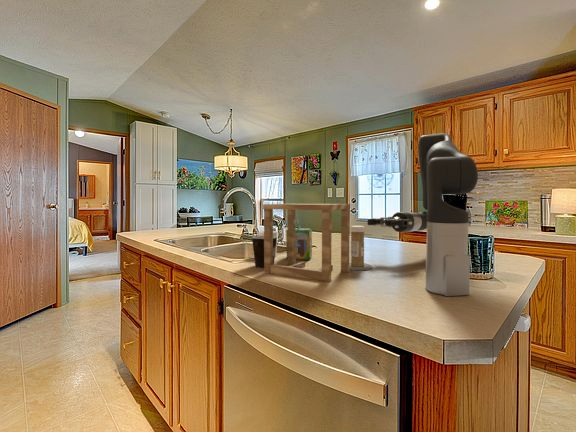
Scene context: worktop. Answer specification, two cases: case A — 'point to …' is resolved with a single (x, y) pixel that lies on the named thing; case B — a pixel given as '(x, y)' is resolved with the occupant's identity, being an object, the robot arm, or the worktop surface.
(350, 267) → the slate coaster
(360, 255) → the sprinkles bottle
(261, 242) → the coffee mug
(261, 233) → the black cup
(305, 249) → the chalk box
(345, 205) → the oak shelf
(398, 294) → the worktop surface
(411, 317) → the worktop surface
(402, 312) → the worktop surface
